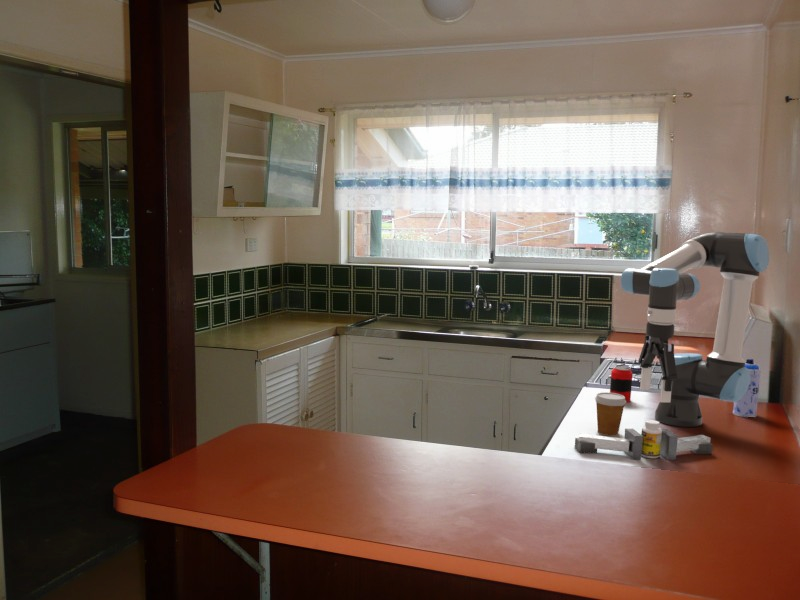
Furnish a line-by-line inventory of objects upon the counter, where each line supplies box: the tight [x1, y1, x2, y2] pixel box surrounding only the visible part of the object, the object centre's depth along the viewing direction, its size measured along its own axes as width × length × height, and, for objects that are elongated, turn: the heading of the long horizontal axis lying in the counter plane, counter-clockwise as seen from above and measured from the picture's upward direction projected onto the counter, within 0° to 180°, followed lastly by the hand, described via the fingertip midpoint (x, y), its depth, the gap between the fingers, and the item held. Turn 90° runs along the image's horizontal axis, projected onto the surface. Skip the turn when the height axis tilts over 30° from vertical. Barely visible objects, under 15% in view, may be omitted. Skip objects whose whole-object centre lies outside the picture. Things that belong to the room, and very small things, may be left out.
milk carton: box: [732, 358, 762, 418], centre depth 272 cm, size 8×8×20 cm
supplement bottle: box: [640, 419, 662, 459], centre depth 223 cm, size 6×6×10 cm
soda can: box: [609, 366, 633, 403], centre depth 286 cm, size 8×8×12 cm
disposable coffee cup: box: [594, 391, 627, 437], centre depth 244 cm, size 10×10×12 cm
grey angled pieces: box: [574, 428, 714, 461], centre depth 225 cm, size 10×40×7 cm, turn 96°
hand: (654, 395), depth 221 cm, fingers open, 13 cm apart
